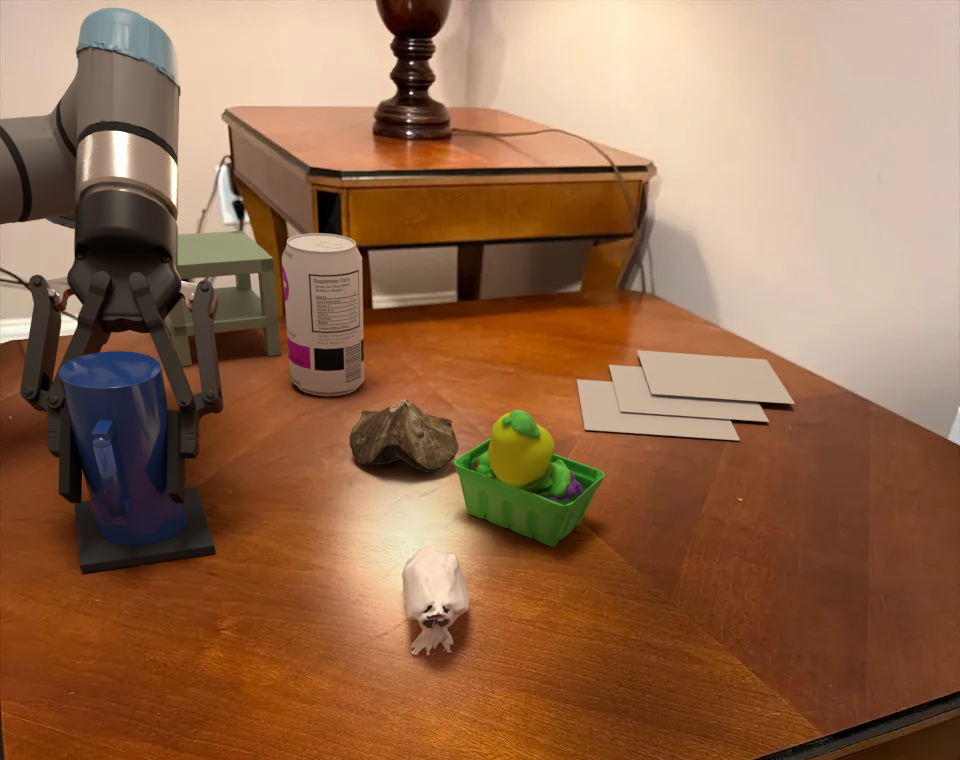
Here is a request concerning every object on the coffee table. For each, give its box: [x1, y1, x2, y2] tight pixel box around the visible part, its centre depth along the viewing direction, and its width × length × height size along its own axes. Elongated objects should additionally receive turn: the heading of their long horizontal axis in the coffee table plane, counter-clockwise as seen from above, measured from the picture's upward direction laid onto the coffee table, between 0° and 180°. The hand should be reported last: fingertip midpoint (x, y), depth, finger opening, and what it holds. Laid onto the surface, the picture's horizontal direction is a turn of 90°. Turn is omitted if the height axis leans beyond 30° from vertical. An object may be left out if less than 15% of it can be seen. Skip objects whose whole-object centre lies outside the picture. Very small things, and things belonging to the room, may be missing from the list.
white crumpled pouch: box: [401, 545, 470, 656], centre depth 63 cm, size 5×7×10 cm
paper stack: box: [576, 349, 796, 441], centre depth 101 cm, size 23×25×1 cm
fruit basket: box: [453, 409, 606, 548], centre depth 73 cm, size 11×9×11 cm
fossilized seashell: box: [349, 398, 459, 473], centre depth 83 cm, size 8×7×10 cm
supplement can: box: [281, 232, 365, 397], centre depth 93 cm, size 8×8×15 cm
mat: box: [73, 486, 216, 574], centre depth 71 cm, size 10×10×1 cm
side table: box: [164, 230, 282, 368], centre depth 102 cm, size 12×12×11 cm
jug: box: [59, 350, 187, 546], centre depth 66 cm, size 10×7×13 cm
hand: (123, 498), depth 66 cm, fingers closed on jug, 7 cm apart
